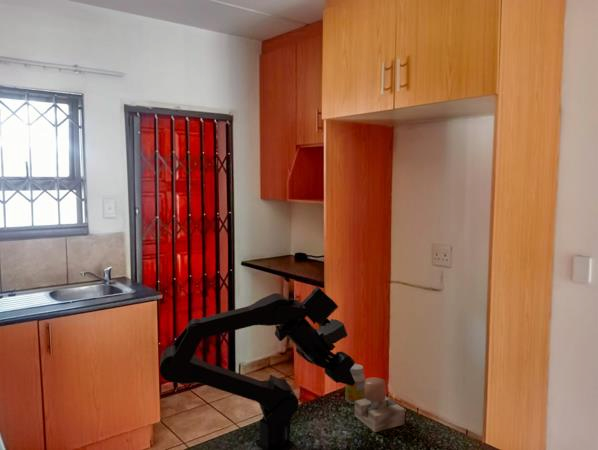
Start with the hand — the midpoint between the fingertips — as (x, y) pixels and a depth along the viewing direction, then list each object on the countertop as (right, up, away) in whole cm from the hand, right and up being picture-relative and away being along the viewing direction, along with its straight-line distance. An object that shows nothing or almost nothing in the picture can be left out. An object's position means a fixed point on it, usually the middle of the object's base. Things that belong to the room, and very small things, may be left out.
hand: (343, 376), depth 113 cm
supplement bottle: (+5, -12, +17) cm, 21 cm away
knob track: (+10, -13, +6) cm, 17 cm away
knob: (+8, -11, +5) cm, 15 cm away
